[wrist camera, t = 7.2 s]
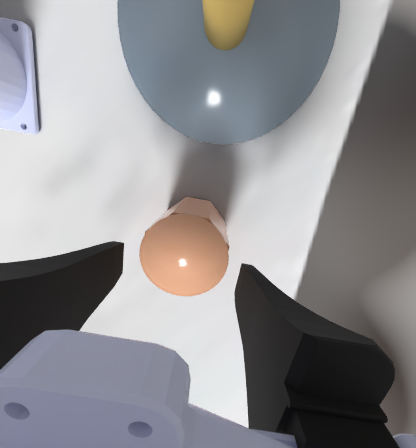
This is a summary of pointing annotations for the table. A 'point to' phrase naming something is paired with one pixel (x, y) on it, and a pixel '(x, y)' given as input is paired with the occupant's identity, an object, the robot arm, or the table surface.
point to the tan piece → (186, 248)
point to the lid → (226, 64)
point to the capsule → (226, 21)
